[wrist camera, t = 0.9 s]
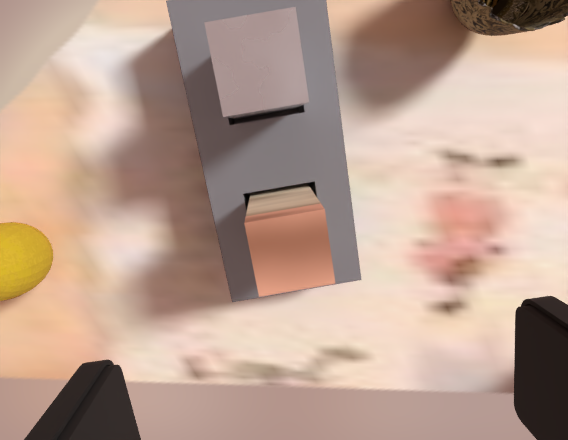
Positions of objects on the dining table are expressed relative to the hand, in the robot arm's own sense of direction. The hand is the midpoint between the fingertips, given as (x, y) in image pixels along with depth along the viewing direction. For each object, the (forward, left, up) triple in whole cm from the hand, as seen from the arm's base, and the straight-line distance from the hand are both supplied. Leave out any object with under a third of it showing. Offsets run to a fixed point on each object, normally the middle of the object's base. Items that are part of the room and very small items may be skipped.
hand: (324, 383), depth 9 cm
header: (+4, 0, -24) cm, 25 cm away
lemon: (-1, +21, -25) cm, 33 cm away
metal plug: (+9, 0, -24) cm, 26 cm away
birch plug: (-1, 0, -24) cm, 24 cm away
